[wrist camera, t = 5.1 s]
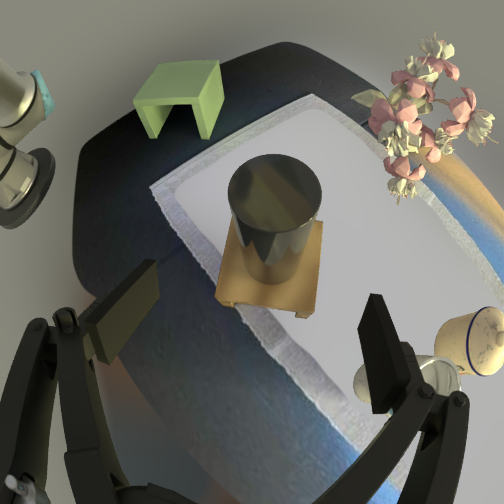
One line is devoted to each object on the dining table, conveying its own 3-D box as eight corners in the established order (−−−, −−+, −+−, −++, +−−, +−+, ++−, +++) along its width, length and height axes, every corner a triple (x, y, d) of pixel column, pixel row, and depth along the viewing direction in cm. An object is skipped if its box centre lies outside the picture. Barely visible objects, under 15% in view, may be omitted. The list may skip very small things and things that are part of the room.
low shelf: (222, 305, 36) (214, 297, 30) (238, 229, 40) (233, 208, 34) (306, 318, 35) (314, 312, 29) (315, 240, 38) (323, 221, 33)
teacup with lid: (425, 372, 31) (476, 374, 20) (436, 312, 34) (486, 294, 23) (478, 379, 29) (527, 377, 18) (486, 324, 32) (534, 311, 21)
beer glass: (405, 374, 31) (473, 378, 17) (374, 415, 30) (432, 443, 15) (372, 346, 33) (432, 338, 19) (339, 387, 31) (385, 407, 17)
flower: (296, 128, 44) (373, 49, 19) (370, 81, 46) (445, 22, 21) (364, 220, 47) (476, 213, 22) (424, 158, 49) (515, 133, 24)
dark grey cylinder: (238, 280, 31) (218, 225, 18) (248, 228, 33) (237, 149, 20) (296, 289, 30) (318, 239, 17) (302, 235, 32) (323, 160, 19)
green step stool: (149, 138, 47) (131, 101, 38) (170, 99, 51) (158, 63, 42) (209, 139, 46) (198, 97, 37) (224, 98, 50) (218, 59, 41)
